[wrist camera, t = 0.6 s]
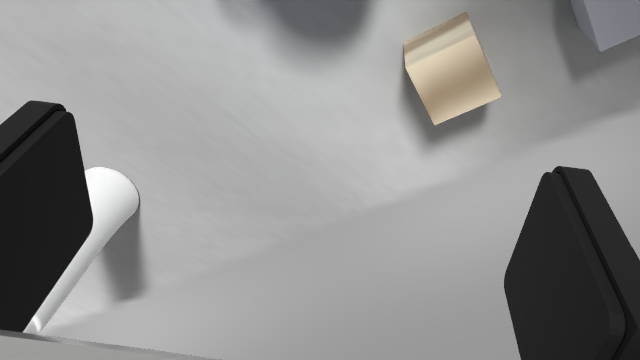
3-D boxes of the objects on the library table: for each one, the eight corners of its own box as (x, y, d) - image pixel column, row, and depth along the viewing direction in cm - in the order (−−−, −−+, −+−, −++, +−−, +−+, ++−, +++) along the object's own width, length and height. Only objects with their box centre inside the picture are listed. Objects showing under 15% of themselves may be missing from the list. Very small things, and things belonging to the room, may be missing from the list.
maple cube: (403, 42, 42) (405, 68, 38) (466, 11, 41) (475, 34, 36) (429, 96, 45) (434, 125, 40) (490, 68, 43) (501, 96, 39)
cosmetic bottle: (78, 158, 51) (-91, 351, 33) (142, 176, 52) (11, 377, 34) (76, 208, 55) (-78, 408, 36) (136, 224, 55) (14, 430, 37)
